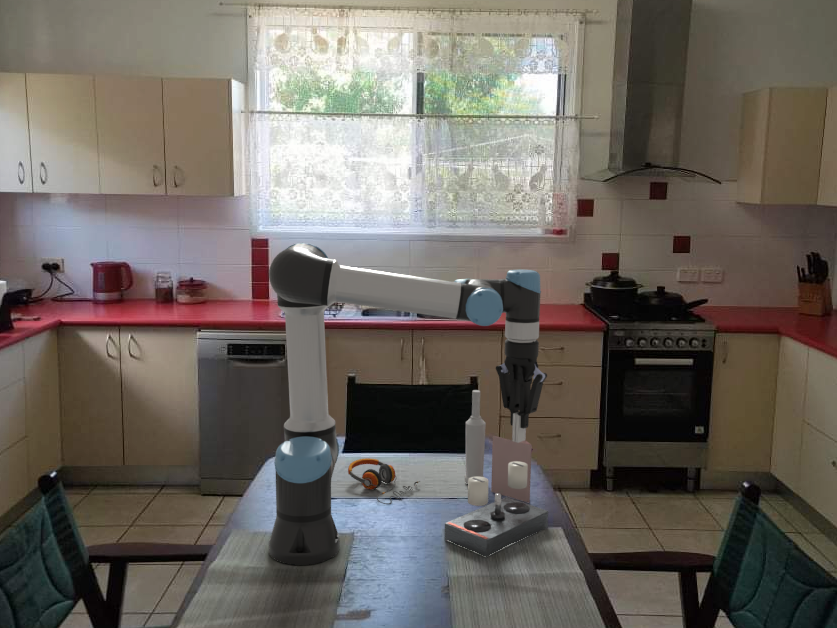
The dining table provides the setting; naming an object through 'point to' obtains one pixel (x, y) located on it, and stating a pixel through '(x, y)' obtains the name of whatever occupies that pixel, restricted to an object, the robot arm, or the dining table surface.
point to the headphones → (375, 475)
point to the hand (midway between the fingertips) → (518, 440)
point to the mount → (496, 526)
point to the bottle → (475, 440)
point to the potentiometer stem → (497, 509)
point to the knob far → (517, 475)
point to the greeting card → (501, 457)
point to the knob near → (478, 491)
